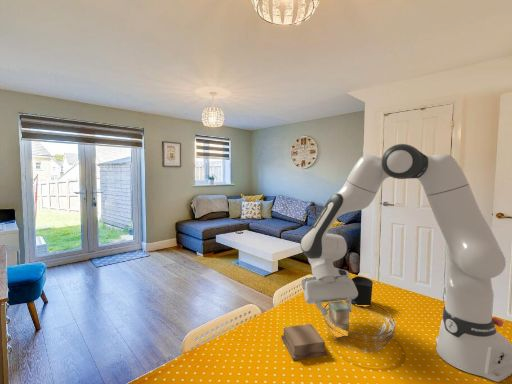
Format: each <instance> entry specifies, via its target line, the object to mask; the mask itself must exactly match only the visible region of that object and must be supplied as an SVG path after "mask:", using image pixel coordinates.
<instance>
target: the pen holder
mask: <svg viewBox="0 0 512 384" xmlns="http://www.w3.org/2000/svg"><path fill="white" fill-rule="evenodd" d="M351 279H352V280H353V282H354V284H355V286H356V289H357V291H358V296H357V297H356V298H355V299H351V305H353V304H357V305H370V306H371V304H372V298H373V297H372V296H373V295H372V294H373V284H374V282H373V280H371V279H370V278H368V277H364V276H360V275H359V276H354V277H352V278H351Z"/></svg>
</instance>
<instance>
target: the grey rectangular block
mask: <svg viewBox="0 0 512 384" xmlns="http://www.w3.org/2000/svg"><path fill="white" fill-rule="evenodd" d="M349 311H350V308H349V307H348V306H347V303H346V302H343V300H341V301H332V302H328V321H329V320H330V321H331V322H332V324H334V325H335V327H339V328H341V329H343V330H346V331H349V332H350V312H349ZM327 329H328V331H329V333H331V331H330V329H329V327H328V328H327ZM331 335H332V333H331ZM332 336H333V337H334V338H335V339H337V338H336V337H335V336H334V335H332Z"/></svg>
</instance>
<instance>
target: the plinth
mask: <svg viewBox="0 0 512 384" xmlns="http://www.w3.org/2000/svg"><path fill="white" fill-rule="evenodd" d="M280 337H281V340H282V341H283V344H284V346H285V348H286V349H287V352H288V353H289V356H290V358H291V359H292V361H297V360H303V359H311V358H317V357H324V356H327V355H328V351H327V350H326V349H325V348H326V347H325V346H326V345H325V344H326V341H325V340H324V338H323V337H322V336H321V335H320V333H319V331H317V330H316V328H315V327H314V326H313V324H312V323H308V324H299V325H298V324H297V325H290V326H283V335H281V336H280Z"/></svg>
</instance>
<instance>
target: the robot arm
mask: <svg viewBox="0 0 512 384" xmlns="http://www.w3.org/2000/svg"><path fill="white" fill-rule="evenodd" d="M387 178H393V179H398V180H406V179H417V180H418V181H419V182H420V184H421V186H422V188H423V190H424V192H425V196H426V197H427V200H428V203H429V205H430V208H431V211H432V213H433V215H434V218H435V221H436V223H437V225H438V227H439V229H440V231H441V234H442V237H443V238H444V241H445V246H444V247H445V252H444V253H445V254H444V255H445V279H446V283H445V284H446V285H445V287H446V288H445V305H444V307H443V308H442V309H443V310H442V319H441V321H440V327H439V333H438V336H436V337H435V342H436V348H435V350H436V353H437V354H438V356H439V357H440V358H441V359H442V360H444V361H445V362H446V363H447V364H449V365H451V366H452V367H454V368H456V369H459V370H461V371H463V372H466V373H468V374H472V375H474V376H480V377H483V378H485V379H487V380H490V381H492V382H493V381H494V382H497V383H500V382H502V381H503V380H505V379H507V378H509V377H510V376H512V375H511V374H512V343H511V341H510V340H509V339H508V338H506V337H505V336H503V335H502V334H501V333H500V332H499V331H497V329H496V326H497V327H499V328H501V327H503V326H504V321H503V320H502V319H499V318H497V317H495V316H494V317H493V308H494V297H495V296H494V295H495V294H494V290H493V285H492V279H493V278H496V277H498V276H500V275H501V274H503V272H504V270H505V268H506V263H507V262H506V261H507V260H506V258H505V255H504V253H503V251H502V249H501V247H500V245H499V243H498V241H497V239H496V237H495V235H494V232H493V231H492V230H491V229H492V228H491V227H490V225H489V223H488V222H487V220H486V219H485V217H484V215H483V213H482V211H481V209H480V208H479V205H478V202H477V199H476V198H475V195H474V192H473V190H472V188H471V186H470V184H469V181H468V179H467V176H466V175H465V172H464V171H463V170H462V168H461V166H460V165H459V163H458V162H457V160H456V159H455V158H454V157H453V156H452V155H450V154H447V153H437V154H433V155H430V156H427V155H425V154H424V153H423V152H422V151H420V150H419V149H418V148H416V147H415V146H413V145H410V144H406V143H399V144H395V145H394V144H393V146H391V147H389V148H387V149H386V151H385V152H384V153H383V155H382V156H381V157H380V156H376V155H370V154H367V155H366V154H365V155H362V156H361V157H359V159H358V160H357V162H356V163H355V164H354V166H353V167H352V170H351V171H350V173H349V174H348V176H347V179H346V181H345V182H344V184H343V185H342V187H341V188H339V190H338V191H337V192H336V193H334V194H332V196H331V197H329V199H328V200H327V201H326V202H325V205H323V207H322V209H321V210H320V211H319V214H318V215H317V217H316V218H315V220H314V222H313V223H312V225H311V226H310V228H308V230H307V231H306V232H305V233H304V235H302V238H301V240H300V249H301V252H302V253H303V255H304V256H305V257H306V258H307V259H308V260H307V261H308V263H309V264H310V267H311V274H312V276H311V277H303V279H302V280H301V281H300V282H301V287H302V289H303V295H304V300H305V302H306V304H307V305H314V304H315V305H316V307H317V309H319V311H320V312H321V315H322V316H329V311H328V309H327V308H324V306H323V305H322V304H323V303H330V302H339V301H344V303H345V304H346V305H347V306H348V307H349V308H350V311H349V313H351V312H353V309H352V303H351V299H355V298H356V297H357V296H358V291H357V289H356V286H355V284H354V282H353V280H352V278H351V277H350V276H349V275H350V272H349V271H348V270H346V269H341V268H337V267H335V266H334V262H337V261H340V260H341V259H344V257H345V256H346V255H347V253H348V243H347V240H346V239H345V237H344V236H342V235H341V234H336V233H335V234H334V233H328V231H329V230H330V229H331V227H332V226H333V224H334V223H335V221H336V220H337V219H338V218H339V217H341V216H342V215H344V214H347V213H351V212H357V211H362V210H364V209H366V208H368V207H369V206H370V205H371V203H372V202H373V201H374V199H375V197H376V196H377V193H378V191H379V189H380V188H381V185H382V183H383V182H384V181H385V180H387ZM508 376H509V377H508Z"/></svg>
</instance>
